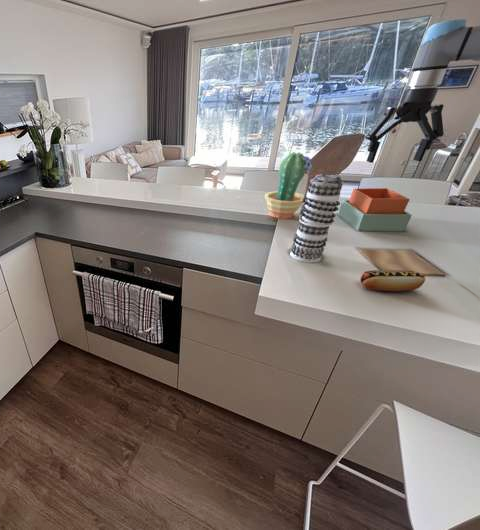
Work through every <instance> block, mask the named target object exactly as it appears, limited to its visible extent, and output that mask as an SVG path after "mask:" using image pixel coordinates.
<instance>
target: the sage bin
mask: <svg viewBox="0 0 480 530" xmlns="http://www.w3.org/2000/svg"><path fill="white" fill-rule="evenodd" d="M349 201H350V199H342V201H341V203H340V207H339V209H338V212H337V215H338V217H340V218H341V219H342V220H344V221H345V222H346V223H347V224H349V225H350V226H351V227H353V229H355V230H356V231H358V232H361V231H362V232H364V231H365V232H366V231H367V232H405V231H406V230H407V227H408V225H409V222H410V221H411V218H412V217H413V215H412V213H409V212H408V211H406V210H405V211H404V213H403V214H364V213H362V212H361V211H359V210H358V209H356V208H355V207H354V206H352V205H351V204H349Z"/></svg>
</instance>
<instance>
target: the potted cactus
mask: <svg viewBox="0 0 480 530" xmlns="http://www.w3.org/2000/svg"><path fill="white" fill-rule="evenodd" d="M312 168H313V164H312V161H311V158H310V157H309V156H306V155H304V153H302V152H300V151H299V152H296V151H293V152H289V153H288V154H287V155H286V156H285V157H284V158H283V159H282V160H281V161H280V163H279V168H278V186H277V190H276V191H268V192H266V193H264V201H265V202H266V206H267V208H268V210H269V212H268V213H269V214H268V215H269V216H270V217H272V218H275V219H283V220H285V219H291V218H293V217H294V214H295V213H296V212H297V211H298V210H299V209H300V208H301V207H302V204H304V202H302V200H303V198H304V196H305V195H304V194H301V193H299V192H296V191H297V189H298V186H299V184H300V182H301V180H303V178H304V177H305V174H307V175H308V174H309V173H310V172H311V171H312ZM306 170H307V172H306ZM305 200H306V199H305Z"/></svg>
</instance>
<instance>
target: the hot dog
mask: <svg viewBox="0 0 480 530" xmlns="http://www.w3.org/2000/svg"><path fill="white" fill-rule="evenodd" d="M425 276H426V275H424V274H422V273H419V272H414V271H408V270H379V269H376V270H375V269H374V270H373V269H372V270H364V271H363V272H362V274H361V275H360V277H359V282H360V284H361V286H362V287H363V288H366V289H368V290H369V291H378V292H408V291H409V292H410V291H415V290H418V289H419V288H421V287H422V286H423V285H424V283H425V282H426V277H425Z"/></svg>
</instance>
